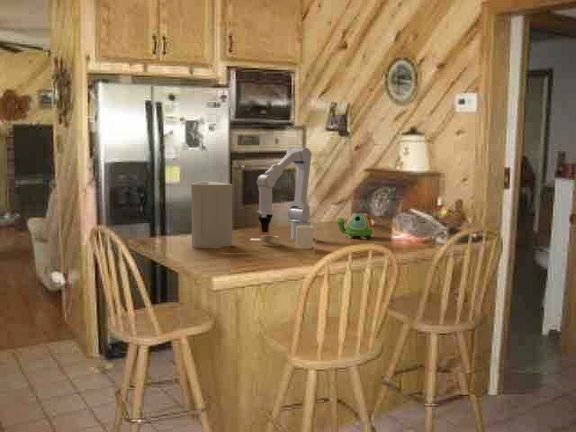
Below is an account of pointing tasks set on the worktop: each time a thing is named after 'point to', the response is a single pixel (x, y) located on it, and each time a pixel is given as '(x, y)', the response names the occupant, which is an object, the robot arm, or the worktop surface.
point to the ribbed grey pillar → (211, 214)
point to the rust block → (264, 232)
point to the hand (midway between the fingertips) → (265, 231)
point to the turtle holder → (357, 226)
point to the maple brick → (269, 240)
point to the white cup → (304, 236)
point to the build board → (259, 240)
